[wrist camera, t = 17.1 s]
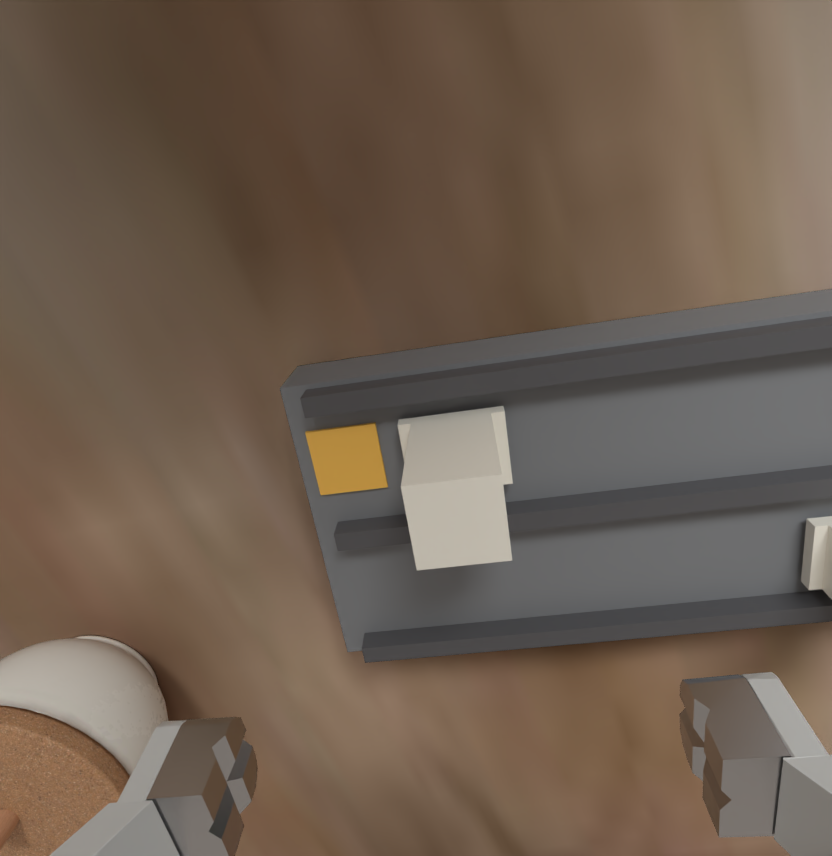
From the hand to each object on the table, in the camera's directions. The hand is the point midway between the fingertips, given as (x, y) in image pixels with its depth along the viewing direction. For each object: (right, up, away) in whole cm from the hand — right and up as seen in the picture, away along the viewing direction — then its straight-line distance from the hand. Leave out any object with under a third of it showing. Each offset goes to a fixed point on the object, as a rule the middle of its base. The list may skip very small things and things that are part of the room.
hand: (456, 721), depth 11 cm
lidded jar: (-18, -8, +22) cm, 30 cm away
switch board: (+9, +4, +16) cm, 18 cm away
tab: (+1, +5, +12) cm, 13 cm away
